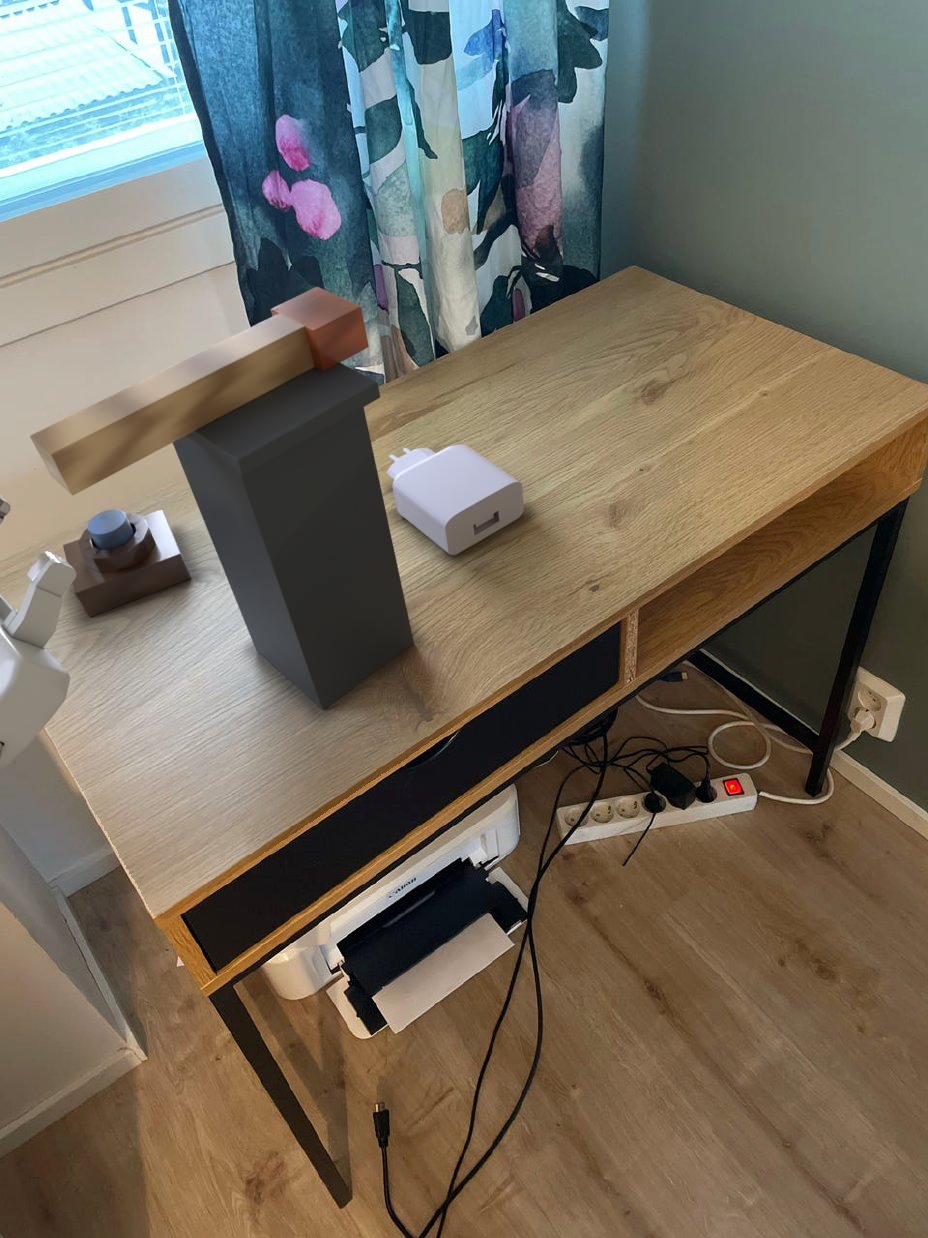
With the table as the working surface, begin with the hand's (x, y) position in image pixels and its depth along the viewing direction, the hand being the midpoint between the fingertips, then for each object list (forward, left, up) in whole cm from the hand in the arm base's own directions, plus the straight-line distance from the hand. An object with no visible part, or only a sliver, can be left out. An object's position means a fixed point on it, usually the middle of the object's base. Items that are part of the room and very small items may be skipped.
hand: (28, 526), depth 54 cm
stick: (+13, +4, +1) cm, 14 cm away
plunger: (+2, +25, -20) cm, 32 cm away
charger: (+33, +18, -25) cm, 45 cm away
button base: (+2, +25, -25) cm, 35 cm away
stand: (+16, +5, -25) cm, 30 cm away
